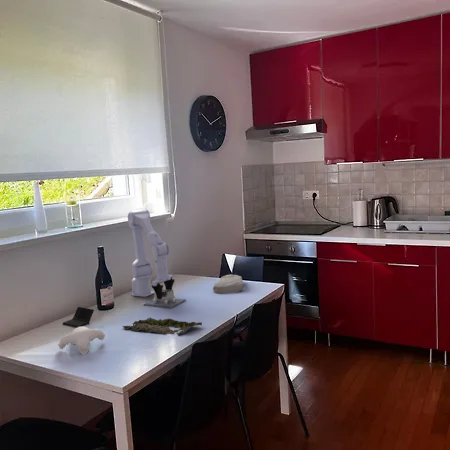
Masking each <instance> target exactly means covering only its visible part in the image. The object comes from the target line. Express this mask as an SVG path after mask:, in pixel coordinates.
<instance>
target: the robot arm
mask: <svg viewBox="0 0 450 450" xmlns="http://www.w3.org/2000/svg"><path fill="white" fill-rule="evenodd" d="M127 222H128V223H127V224H128V227H129V228H131V231H132V238H133V239H132V240H133V247H134V254H135V260H134V261H133V262H132V264H131V276H132V277H133V278H132V279H131V292H132V294H131V296H134V297H145V298H146V297H148V296H150V295H153V294H155V293H156V296H157V299H162V289H164V287H165V289H168V290H173V286H174V284H175V279H174V274H169V263H168V255H169V251H170V250H169V246H168V244H167V243H166V242H165V241H163V240H162V238H161V237H160V235H159V233H158V232H157V231H155V229H154V228H153V226H152V222H151V214H150V211H149V209H147V208H146V209H140V210H132V211H131V210H130V211H129V212H128V214H127ZM143 230H144V232H145V233H146V235H147V237H146V239H147V241H148V243H149V245H150V247H151V252H152V256H153V260H154V263H155V272H156V274H155V276H156V278H155V279H154V280H152V281H151V277H152V275H153V273H154V267H153V265H152V262H151V260H149V259H148V258H147V256H146V251H145V241H144V235H143ZM162 283H163V285H162ZM152 289H153V291H152Z"/></svg>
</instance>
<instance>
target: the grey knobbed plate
mask: <svg viewBox="0 0 450 450" xmlns="http://www.w3.org/2000/svg"><path fill="white" fill-rule="evenodd" d="M186 300H187V299H185V298H176V295H174V298H173V302H171V303H167V300H165V303H160V302H156V299H155V296H154V297H153V299H151V300H149V301H147V302H144V303H143V306H145V307H147V306H148V307H154V308H155V307H156V308H164V309H173V308H175V307H177V306H179V305H181V304H182V303H185V302H187V301H186ZM184 301H185V302H184Z"/></svg>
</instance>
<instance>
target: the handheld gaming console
mask: <svg viewBox="0 0 450 450" xmlns="http://www.w3.org/2000/svg"><path fill="white" fill-rule="evenodd" d="M75 310H76V311H75V312H74V315H73V317H72V319H68V320H65V321H63V322H62V325H64V326H68V327H72V328H78V327H85V326H87V325H89V324H90V322H91V319H92V316H93V314H94V311H95V309H91V308H86V307H82V306H78V307H77V309H75Z"/></svg>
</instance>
